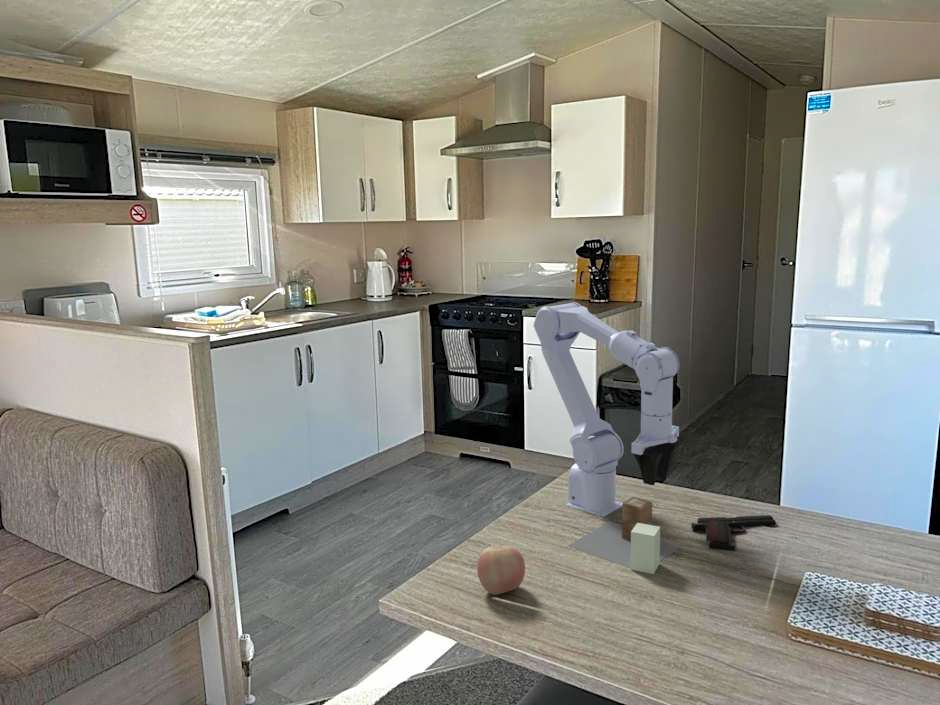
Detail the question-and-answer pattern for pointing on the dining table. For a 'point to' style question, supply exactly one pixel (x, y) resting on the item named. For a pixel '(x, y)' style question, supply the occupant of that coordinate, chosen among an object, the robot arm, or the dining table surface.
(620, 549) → the mat
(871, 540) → the dining table surface
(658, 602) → the dining table surface
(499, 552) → the apple
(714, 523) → the handgun
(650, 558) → the sage block
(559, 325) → the robot arm
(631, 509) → the walnut block
